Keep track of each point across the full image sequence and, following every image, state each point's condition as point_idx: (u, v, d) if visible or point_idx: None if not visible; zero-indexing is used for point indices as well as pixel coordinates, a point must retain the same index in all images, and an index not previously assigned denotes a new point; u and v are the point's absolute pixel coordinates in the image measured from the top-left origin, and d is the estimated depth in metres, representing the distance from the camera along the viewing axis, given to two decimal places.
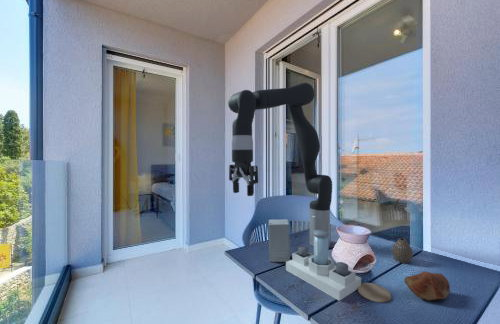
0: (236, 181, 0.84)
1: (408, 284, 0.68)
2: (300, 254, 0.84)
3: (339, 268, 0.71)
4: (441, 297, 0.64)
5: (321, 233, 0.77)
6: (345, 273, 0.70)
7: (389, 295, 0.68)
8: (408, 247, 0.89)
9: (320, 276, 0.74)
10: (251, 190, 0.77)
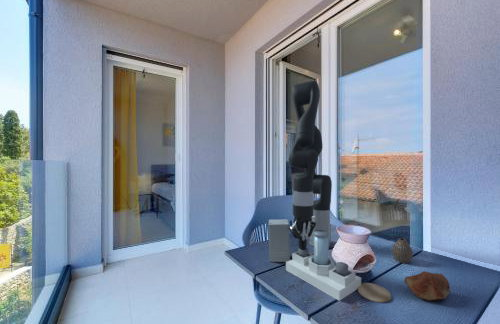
0: None
1: (408, 284, 0.68)
2: (300, 255, 0.84)
3: (339, 268, 0.71)
4: (441, 297, 0.64)
5: (321, 233, 0.77)
6: (345, 273, 0.70)
7: (389, 295, 0.68)
8: (408, 247, 0.89)
9: (320, 276, 0.74)
10: None
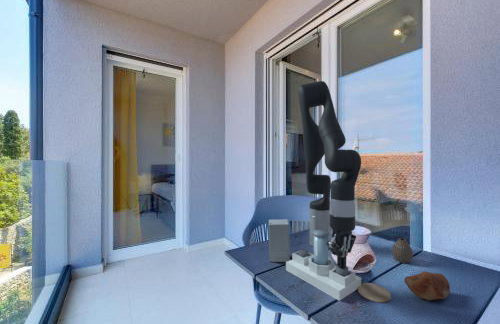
0: None
1: (408, 284, 0.68)
2: None
3: (339, 270, 0.71)
4: (441, 297, 0.64)
5: (321, 233, 0.77)
6: (345, 276, 0.70)
7: (389, 295, 0.68)
8: (408, 247, 0.89)
9: (320, 276, 0.74)
10: None
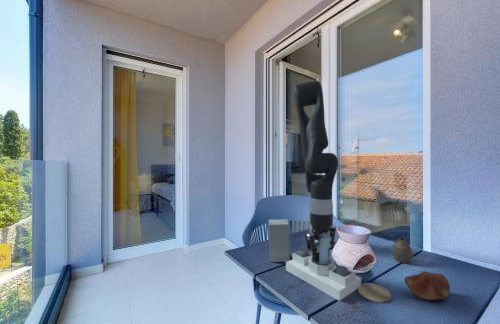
0: None
1: (408, 284, 0.68)
2: None
3: (339, 272, 0.71)
4: (441, 297, 0.65)
5: None
6: None
7: (389, 295, 0.68)
8: (408, 247, 0.89)
9: (320, 276, 0.74)
10: None
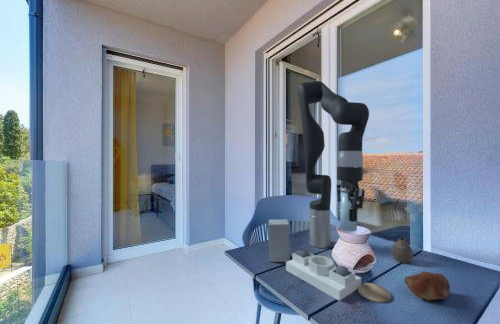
0: None
1: (408, 284, 0.68)
2: None
3: (339, 272, 0.71)
4: (441, 297, 0.64)
5: None
6: None
7: (389, 295, 0.68)
8: (408, 247, 0.89)
9: (320, 276, 0.74)
10: None
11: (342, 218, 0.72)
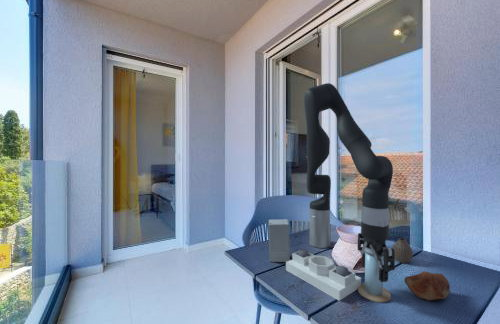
0: None
1: (408, 284, 0.68)
2: None
3: (339, 272, 0.71)
4: (441, 297, 0.65)
5: None
6: None
7: (389, 295, 0.68)
8: (408, 247, 0.89)
9: (320, 276, 0.74)
10: None
11: (367, 281, 0.69)
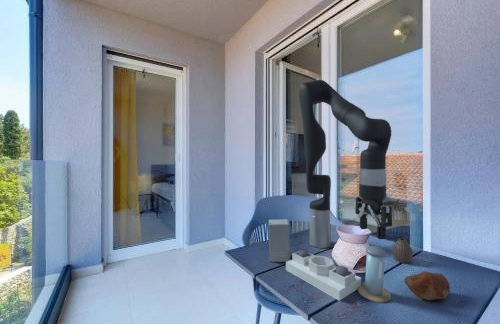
0: None
1: (408, 284, 0.68)
2: None
3: (339, 272, 0.71)
4: (441, 297, 0.65)
5: (380, 251, 0.68)
6: None
7: (389, 295, 0.68)
8: (408, 247, 0.89)
9: (320, 276, 0.74)
10: None
11: (368, 281, 0.69)
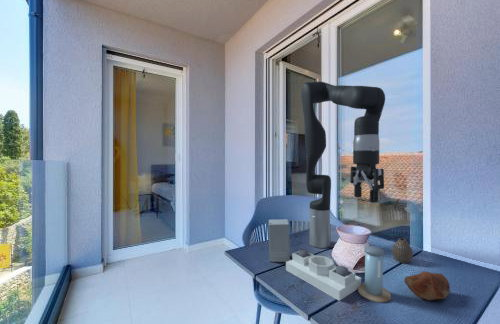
0: None
1: (408, 284, 0.68)
2: None
3: (339, 272, 0.71)
4: (441, 297, 0.65)
5: (378, 250, 0.69)
6: None
7: (389, 295, 0.68)
8: (408, 247, 0.89)
9: (320, 276, 0.74)
10: None
11: (368, 281, 0.69)
